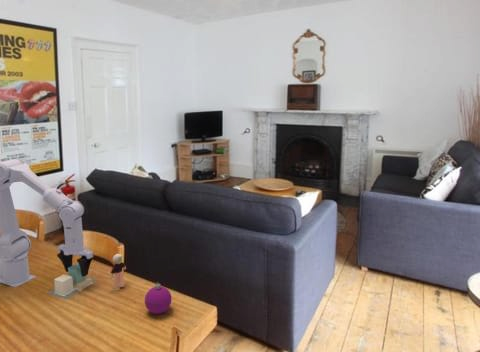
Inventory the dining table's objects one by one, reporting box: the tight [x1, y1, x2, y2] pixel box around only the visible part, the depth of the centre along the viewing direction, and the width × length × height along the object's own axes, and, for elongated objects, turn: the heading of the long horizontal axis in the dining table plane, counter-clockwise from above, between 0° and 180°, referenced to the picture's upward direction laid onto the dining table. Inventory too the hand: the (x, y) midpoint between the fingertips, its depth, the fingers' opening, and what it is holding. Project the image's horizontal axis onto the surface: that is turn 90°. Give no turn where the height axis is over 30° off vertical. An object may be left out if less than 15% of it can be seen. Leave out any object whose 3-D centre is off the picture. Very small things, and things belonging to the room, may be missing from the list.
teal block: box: [67, 262, 87, 283], centre depth 129 cm, size 4×4×5 cm
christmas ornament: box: [144, 281, 172, 315], centre depth 114 cm, size 8×8×10 cm
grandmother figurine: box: [109, 253, 127, 292], centre depth 127 cm, size 8×4×13 cm, turn 168°
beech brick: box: [73, 277, 92, 291], centre depth 129 cm, size 8×5×2 cm, turn 66°
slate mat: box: [47, 276, 99, 300], centre depth 128 cm, size 9×14×1 cm, turn 156°
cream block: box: [53, 273, 74, 296], centre depth 124 cm, size 4×4×5 cm
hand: (76, 273), depth 128 cm, fingers open, 7 cm apart
